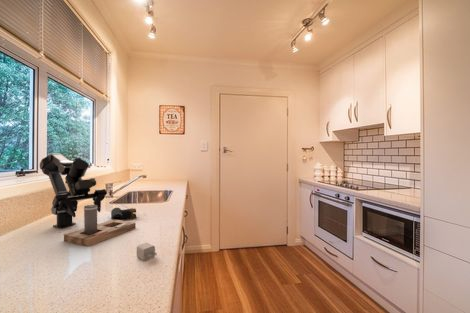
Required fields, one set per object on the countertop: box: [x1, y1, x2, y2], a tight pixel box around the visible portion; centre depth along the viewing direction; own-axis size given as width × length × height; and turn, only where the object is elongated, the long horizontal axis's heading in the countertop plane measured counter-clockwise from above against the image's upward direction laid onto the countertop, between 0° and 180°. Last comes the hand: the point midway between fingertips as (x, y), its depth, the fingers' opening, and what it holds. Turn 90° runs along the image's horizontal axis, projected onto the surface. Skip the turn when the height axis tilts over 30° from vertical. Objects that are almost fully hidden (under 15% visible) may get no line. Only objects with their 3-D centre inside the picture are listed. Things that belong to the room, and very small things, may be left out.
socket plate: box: [63, 219, 136, 247], centre depth 95 cm, size 14×22×3 cm, turn 158°
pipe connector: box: [110, 207, 137, 221], centre depth 117 cm, size 12×5×15 cm
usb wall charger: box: [136, 242, 157, 262], centre depth 73 cm, size 4×7×4 cm, turn 51°
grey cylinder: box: [83, 204, 98, 235], centre depth 90 cm, size 5×5×13 cm
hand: (87, 214), depth 92 cm, fingers open, 9 cm apart
